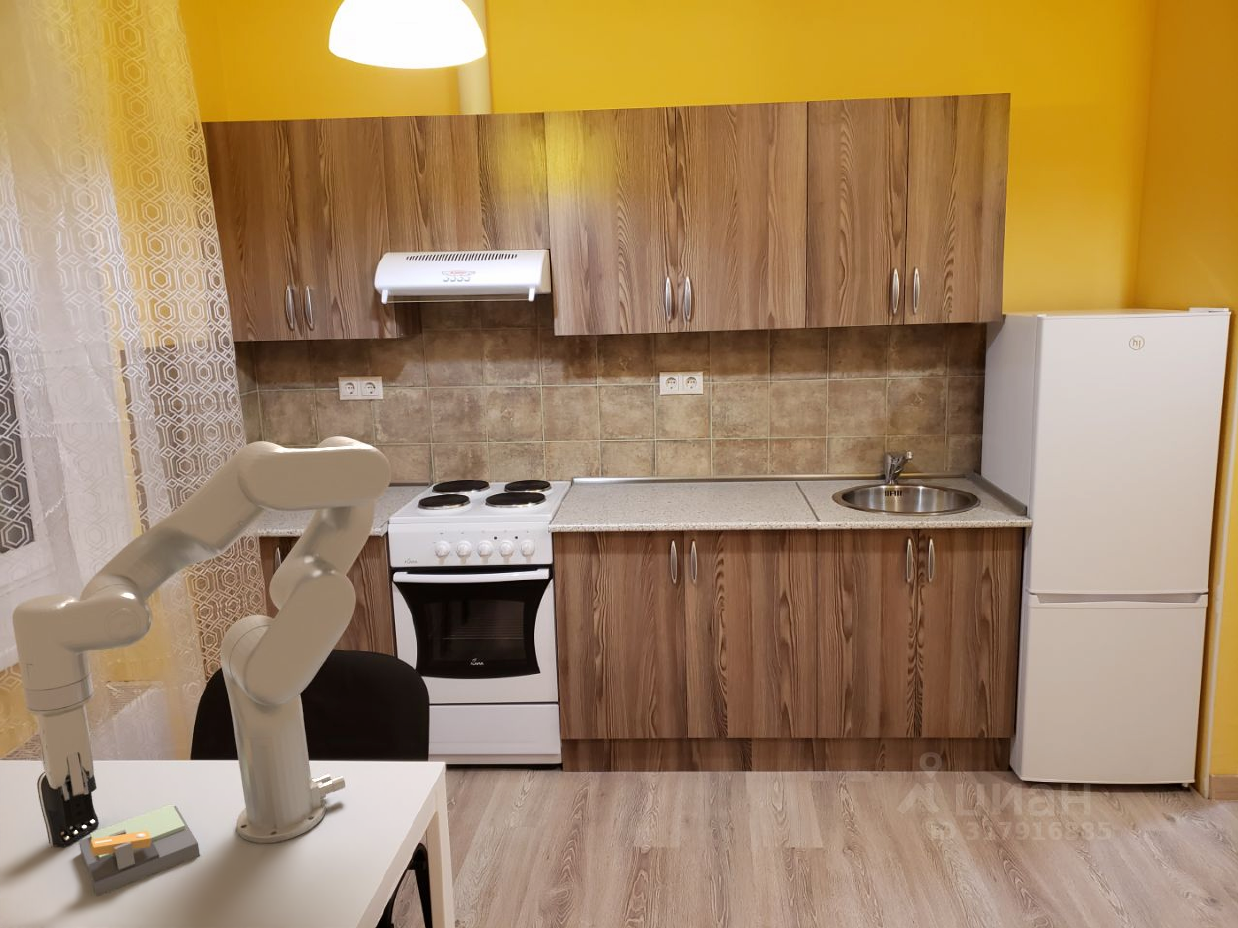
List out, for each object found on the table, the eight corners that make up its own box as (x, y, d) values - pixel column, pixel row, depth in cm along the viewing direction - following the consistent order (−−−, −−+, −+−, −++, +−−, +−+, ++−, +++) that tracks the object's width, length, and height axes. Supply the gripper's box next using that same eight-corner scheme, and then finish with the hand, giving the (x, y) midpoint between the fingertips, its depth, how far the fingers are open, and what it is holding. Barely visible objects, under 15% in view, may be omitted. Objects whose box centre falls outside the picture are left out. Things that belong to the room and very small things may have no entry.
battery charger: (65, 852, 134) (51, 780, 132) (47, 847, 136) (32, 775, 133) (107, 825, 140) (95, 755, 138) (90, 820, 142) (77, 752, 140)
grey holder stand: (177, 817, 141) (172, 784, 140) (199, 855, 132) (194, 819, 131) (81, 853, 134) (74, 818, 133) (97, 895, 124) (89, 858, 123)
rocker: (146, 838, 130) (147, 830, 130) (150, 846, 128) (151, 837, 128) (89, 847, 126) (90, 838, 126) (92, 856, 124) (93, 847, 124)
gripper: (18, 681, 124) (38, 807, 127) (32, 720, 112) (55, 858, 115) (82, 665, 128) (100, 788, 132) (102, 702, 116) (122, 835, 120)
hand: (79, 820), depth 123 cm, fingers closed
